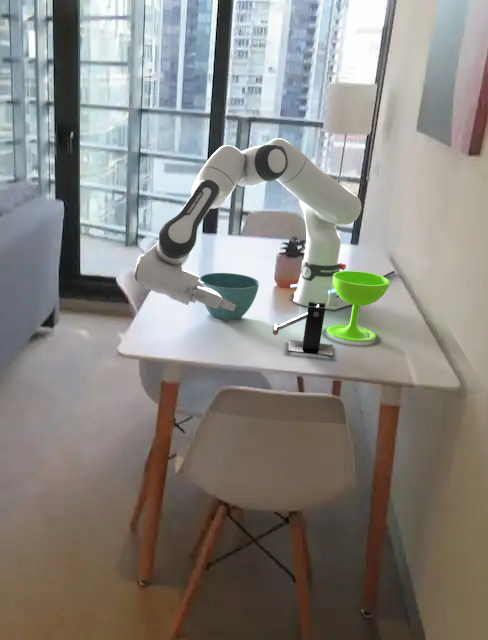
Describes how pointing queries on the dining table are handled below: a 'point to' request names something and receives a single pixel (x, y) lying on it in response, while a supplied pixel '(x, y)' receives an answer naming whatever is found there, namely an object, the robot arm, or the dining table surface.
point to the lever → (289, 322)
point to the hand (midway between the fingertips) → (233, 307)
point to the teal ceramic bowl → (231, 293)
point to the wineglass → (357, 300)
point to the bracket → (312, 333)
